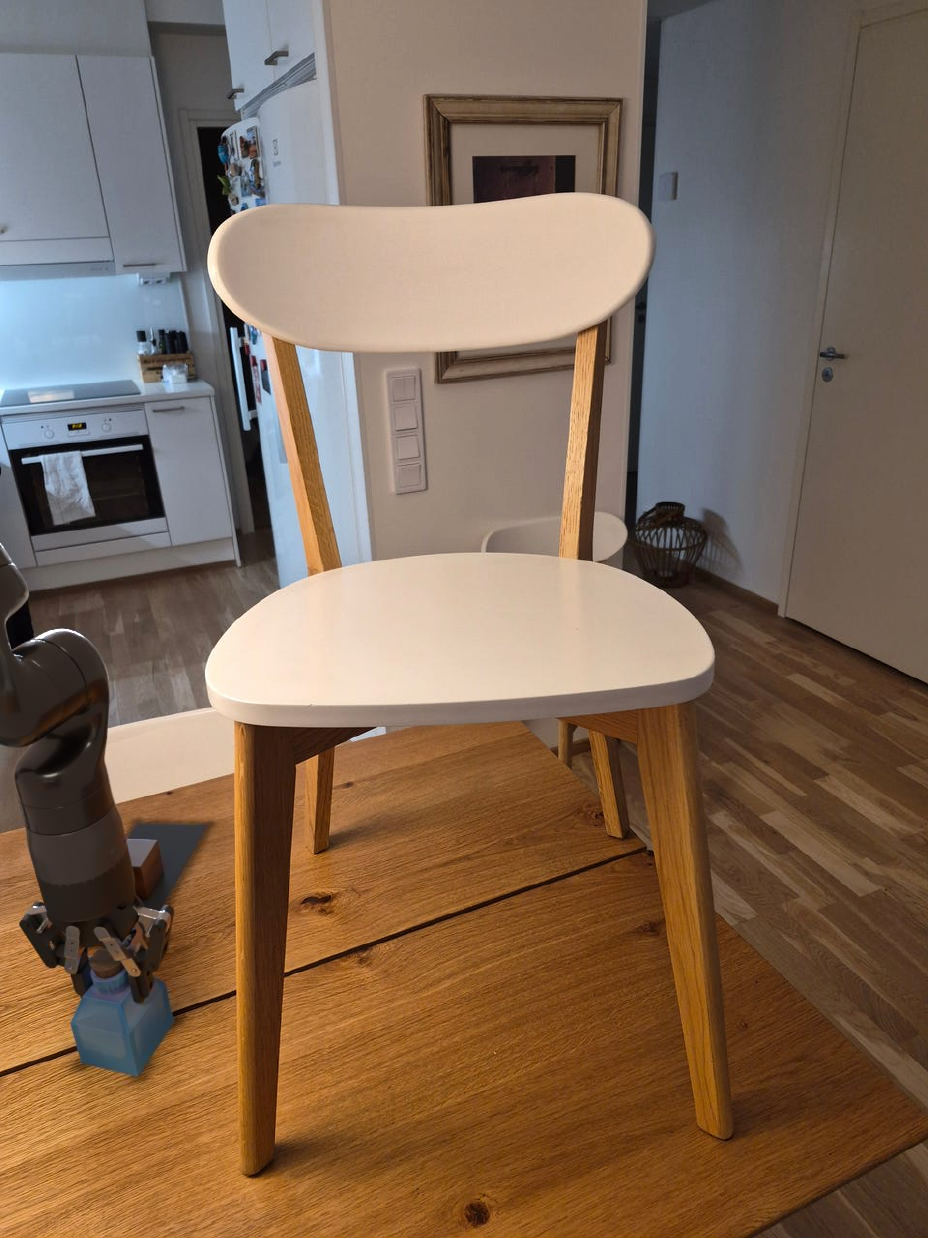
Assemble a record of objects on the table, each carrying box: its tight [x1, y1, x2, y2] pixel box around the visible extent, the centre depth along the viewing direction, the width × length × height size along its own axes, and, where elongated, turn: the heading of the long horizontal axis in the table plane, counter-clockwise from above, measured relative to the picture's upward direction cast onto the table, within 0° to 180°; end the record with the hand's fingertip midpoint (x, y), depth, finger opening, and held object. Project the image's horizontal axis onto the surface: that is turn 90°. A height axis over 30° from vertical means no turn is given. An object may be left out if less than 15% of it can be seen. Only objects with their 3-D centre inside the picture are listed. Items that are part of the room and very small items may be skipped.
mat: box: [63, 822, 208, 942], centre depth 102 cm, size 10×22×6 cm, turn 176°
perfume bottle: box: [69, 947, 175, 1078], centre depth 79 cm, size 6×6×12 cm
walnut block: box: [126, 838, 164, 899], centre depth 101 cm, size 5×5×5 cm
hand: (116, 994), depth 79 cm, fingers closed on perfume bottle, 4 cm apart
